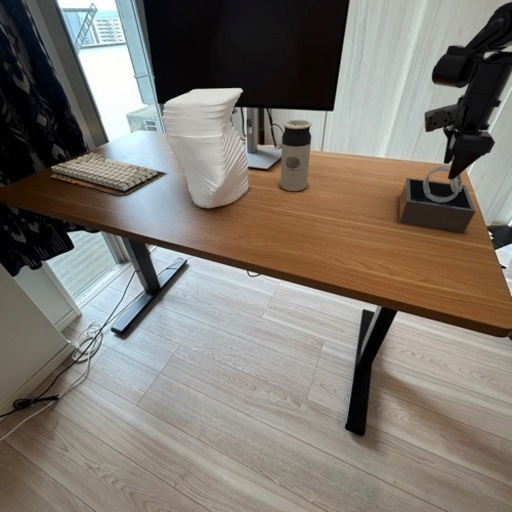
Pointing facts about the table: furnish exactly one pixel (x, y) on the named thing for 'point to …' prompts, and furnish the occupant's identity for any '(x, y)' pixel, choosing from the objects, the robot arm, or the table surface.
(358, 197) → the table surface
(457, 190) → the watch
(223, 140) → the paper stack
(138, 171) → the mechanical keyboard
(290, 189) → the travel mug
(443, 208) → the basin
